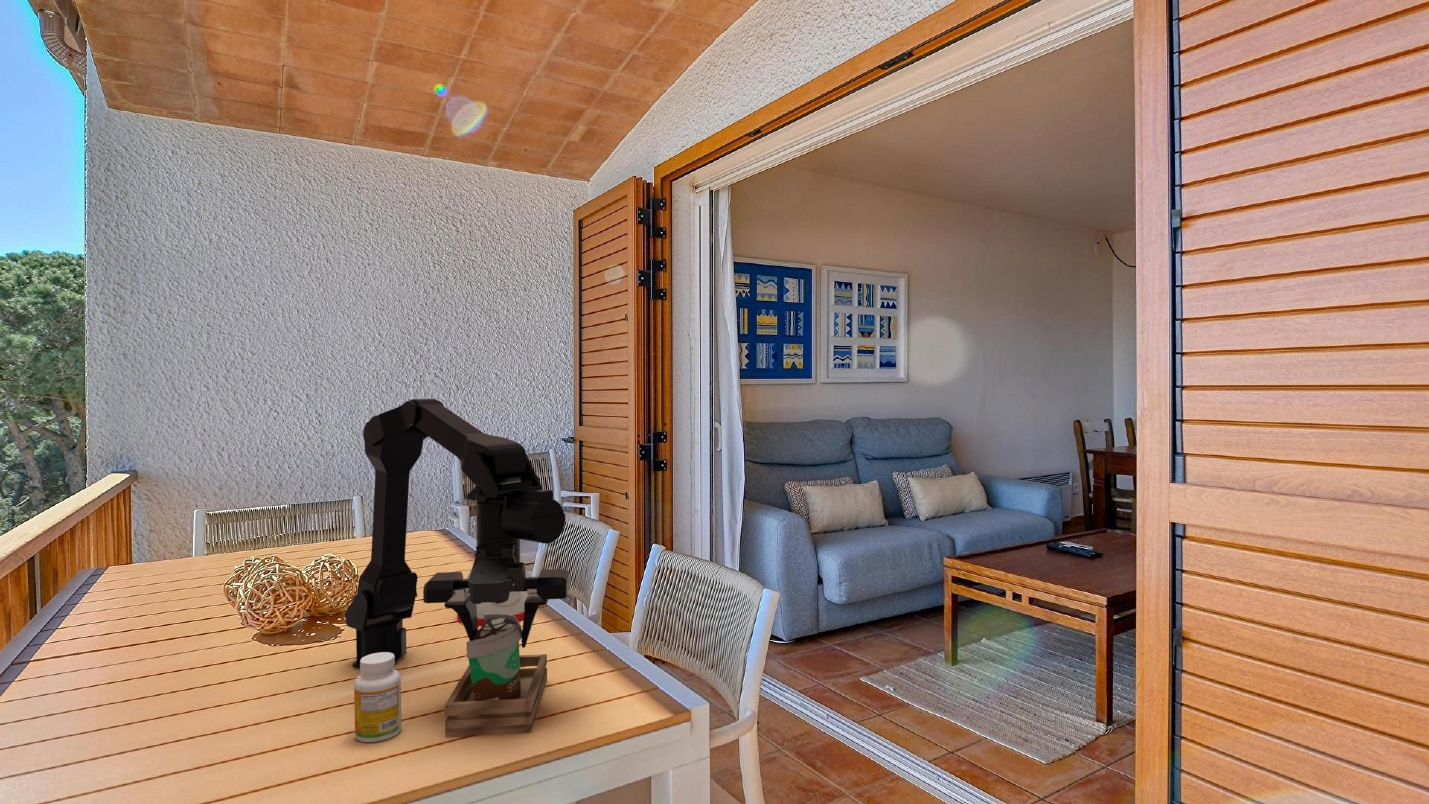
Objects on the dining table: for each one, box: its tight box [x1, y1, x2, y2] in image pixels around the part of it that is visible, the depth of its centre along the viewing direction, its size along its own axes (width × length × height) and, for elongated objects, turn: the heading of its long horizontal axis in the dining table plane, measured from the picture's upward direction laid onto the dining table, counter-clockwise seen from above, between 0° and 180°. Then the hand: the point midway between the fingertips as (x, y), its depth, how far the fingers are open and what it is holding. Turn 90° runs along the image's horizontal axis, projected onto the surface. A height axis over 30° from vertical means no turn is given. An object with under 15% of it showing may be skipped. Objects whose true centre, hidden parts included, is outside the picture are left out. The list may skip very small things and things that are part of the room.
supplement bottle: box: [353, 652, 403, 743], centre depth 94 cm, size 5×5×10 cm
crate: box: [444, 653, 548, 738], centre depth 102 cm, size 11×17×4 cm, turn 6°
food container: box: [465, 614, 523, 701], centre depth 102 cm, size 12×6×10 cm, turn 6°
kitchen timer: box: [456, 552, 529, 628], centre depth 143 cm, size 14×14×15 cm
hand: (499, 647), depth 102 cm, fingers closed on food container, 6 cm apart
